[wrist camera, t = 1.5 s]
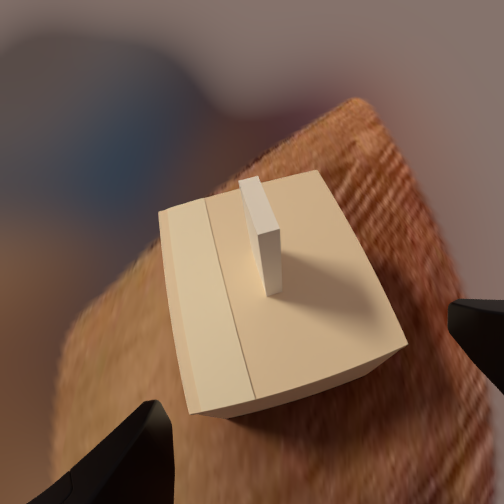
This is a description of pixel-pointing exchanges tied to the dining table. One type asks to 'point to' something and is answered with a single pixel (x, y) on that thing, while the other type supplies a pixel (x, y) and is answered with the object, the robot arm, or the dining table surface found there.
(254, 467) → the dining table surface
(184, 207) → the carton lid
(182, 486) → the dining table surface
